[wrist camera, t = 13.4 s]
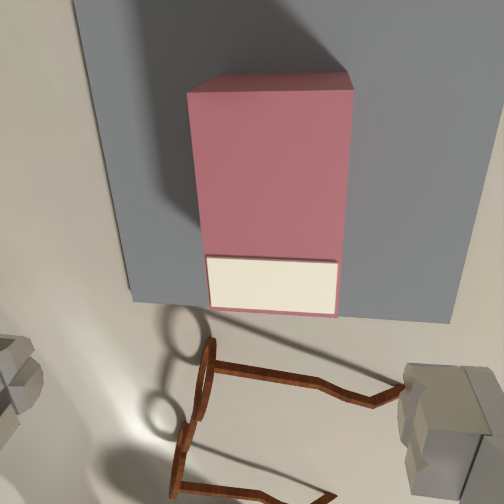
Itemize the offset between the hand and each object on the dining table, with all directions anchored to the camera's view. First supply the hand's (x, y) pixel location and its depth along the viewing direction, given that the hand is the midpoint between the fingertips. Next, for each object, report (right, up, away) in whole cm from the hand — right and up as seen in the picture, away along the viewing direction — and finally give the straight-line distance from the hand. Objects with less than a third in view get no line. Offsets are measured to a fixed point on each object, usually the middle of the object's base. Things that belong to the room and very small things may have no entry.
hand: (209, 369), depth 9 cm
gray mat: (+2, +6, +12) cm, 14 cm away
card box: (+2, +6, +11) cm, 13 cm away
